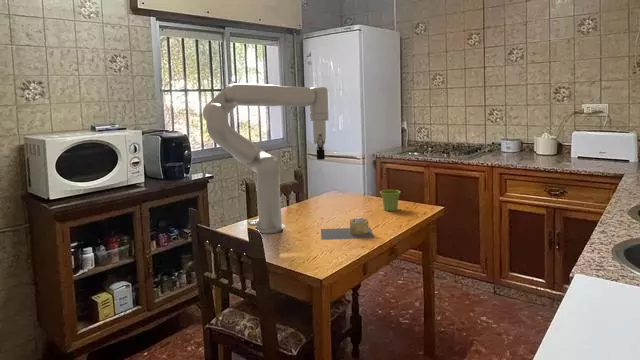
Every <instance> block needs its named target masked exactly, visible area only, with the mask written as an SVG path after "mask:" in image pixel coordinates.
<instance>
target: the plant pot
mask: <svg viewBox="0 0 640 360" xmlns="http://www.w3.org/2000/svg"><path fill="white" fill-rule="evenodd" d="M379 193H380V195H381V198H382V206H383V210H384V211H389V212H395V211H397V210H398V206H399V198H400V194H401V191H400V190H398V189H384V190H380V191H379Z"/></svg>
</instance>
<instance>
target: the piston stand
mask: <svg viewBox="0 0 640 360" xmlns="http://www.w3.org/2000/svg"><path fill="white" fill-rule="evenodd" d="M354 218H355V222H363V218H364V217H362V216H355V217H354ZM368 232H369V234H366V235H361V236H356V235H351V234H350V227H345V228H344V227H343V228H342V227H341V228H321V229H320V237H321V241H323V240H325V241H326V240H351V239H353V240H354V239H355V240H357V239H374V238H375V236H374V233H373V230H372V229H371V227H369V226H368Z"/></svg>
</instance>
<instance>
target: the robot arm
mask: <svg viewBox="0 0 640 360" xmlns="http://www.w3.org/2000/svg"><path fill="white" fill-rule="evenodd" d="M328 97H329V92H328V88H327V87H326V86H313V87H308V86H286V85H285V86H284V85H275V84H265V83H264V84H263V83H262V84H261V83H260V84H259V83H230V84H228V85H227V86H226V87H224V88H223V90H221V92H219V93H218V94H217V95H216V96H215V97H214V98H212V99H211V100H210V101H209V102H208V103H207V104H205V106H204V108H203V110H202V117H203V119H204V121H206V122H205V124H206V129H207V133H208V135H209V137H210V138H211V140H212V141H213V142H214V143H215V144H217V146H219V147H220V148H222V149H224V150H225V151H226V152H227V153H229V154H230V155H231V156H232V157H233V158H234V159H235V160H236V161H238V162H239V163H241V164H243V165H244V166H245V167H247V168H248V169H250V170H251V171H253V172H254V173H256V199H257V201H256V202H257V219H255V220H252V219H251V220H248V221H247V226H250V227H255V228H254V230H255V229H257V230H259V231H260V232H261V233H260V234H276V233H280V232H283V230H284V229H285V227H286V224H284V223H283V222H282V205H281V203H282V202H281V189H280V187H281V184H280V183H281V164H280V162H279V160H278V158H276V156H274V155H273V154H271V153H269V152H266V151H264V149H261V147H259V146H258V145H256V144H255V142H253V141H252V140H250V139H249V138H247V137H244V135H242V134H241V133H239V132H238V131H236V130H235V129H234V128H233V127H231V126H230V124H229V121H228V119H229V118H228V117H229V114H230V113H231V112H232V111H233V110H234V109H235V108H236V107H238V106H242V107H243V106H246V107H247V106H248V107H250V106H251V107H279V106H281V107H284V106H285V107H309V115H310V116H309V118H310V119H309V120H310V122H312V136H313V137H312V138H313V139H312V141H313V145H314V146H316V159H317V160H318V161H319V160H320V161H323V160H325V159H326V158H325V157H326V155H325V144H326V138H327V135H326V134H327V133H326V132H327V129H326V128H327V125H326V123H327V121H329V98H328Z"/></svg>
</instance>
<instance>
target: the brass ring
mask: <svg viewBox="0 0 640 360" xmlns="http://www.w3.org/2000/svg"><path fill="white" fill-rule="evenodd" d="M355 218H356V217H354V218H351V219H349V228H350V234H351V235H356V236H361V235H366V234H369V232H368V227H369V219H368V218H364V217H363V222H355Z"/></svg>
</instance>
